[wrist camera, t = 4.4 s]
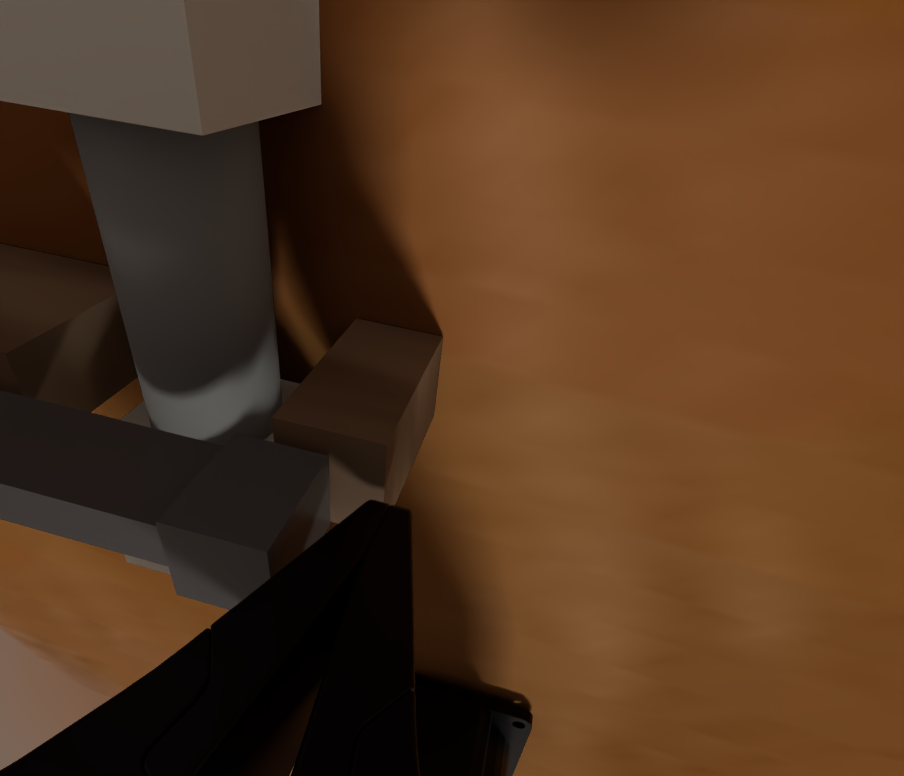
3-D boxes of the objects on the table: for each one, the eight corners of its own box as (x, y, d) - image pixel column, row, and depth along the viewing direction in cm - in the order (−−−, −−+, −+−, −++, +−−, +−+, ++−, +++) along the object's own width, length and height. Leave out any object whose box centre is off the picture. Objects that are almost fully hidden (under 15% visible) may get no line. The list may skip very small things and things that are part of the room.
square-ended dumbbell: (331, 493, 17) (267, 602, 14) (214, 463, 18) (126, 562, 14) (315, -176, 9) (141, -302, 5) (91, -197, 9) (-191, -324, 6)
